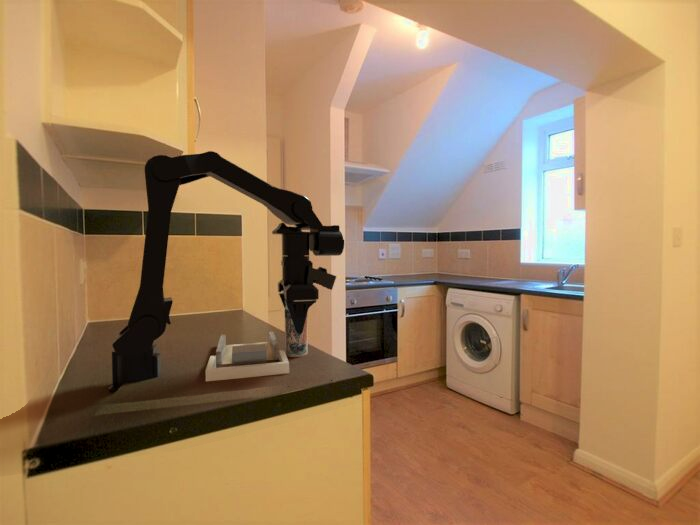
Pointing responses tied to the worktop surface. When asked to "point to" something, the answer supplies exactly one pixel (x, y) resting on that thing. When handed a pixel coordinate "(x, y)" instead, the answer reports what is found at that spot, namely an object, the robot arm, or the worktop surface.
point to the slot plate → (226, 350)
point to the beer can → (295, 338)
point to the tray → (246, 369)
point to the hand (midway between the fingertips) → (296, 328)
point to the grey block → (249, 355)
